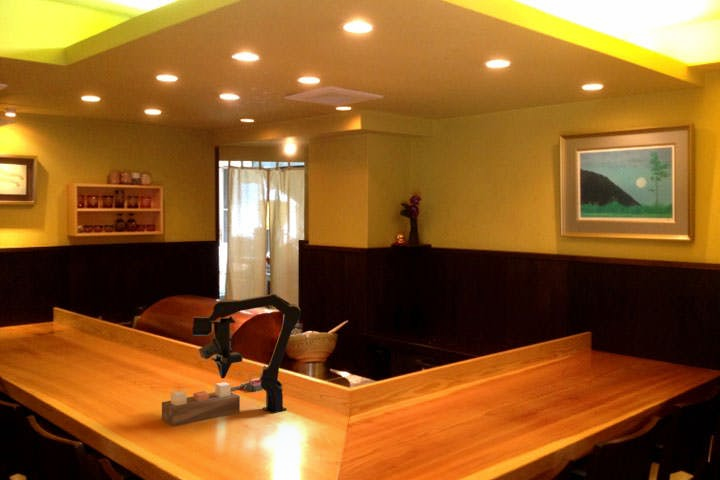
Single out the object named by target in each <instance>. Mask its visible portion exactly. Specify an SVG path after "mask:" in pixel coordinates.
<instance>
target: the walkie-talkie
mask: <svg viewBox="0 0 720 480" xmlns="http://www.w3.org/2000/svg"><path fill="white" fill-rule="evenodd" d="M239 389H243V390H245V391H248V390H249V392H251V393H256V391H257V392H260V390H261V391H263V390H262V389H263V388H262V387H261V380H260V377H256V378H252V379H250V380H249V381H247V382H242V383H241V384H240V385H237V386H233V387H231V391H234V390H239Z"/></svg>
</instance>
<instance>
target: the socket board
mask: <svg viewBox="0 0 720 480" xmlns="http://www.w3.org/2000/svg"><path fill="white" fill-rule="evenodd" d="M240 397H241V396H240V395H238V394H235V393H233V392H231V396H226V397H218V396H216V395H215V391H214V392H209V400H205V401H199V402H198V401H196V400H194V397H193V396H188V397H187V404H184V405H179V406H174V405H172V404H171V400H167V401H162V402H161V420H163V421H164V422H166V423H168V424H169V425H171V426H172V425H173V427H179V426H183V425H187V424H192V423H197V422H201V421H206V420H212V419H216V418H220V417H226V416H230V415H235V414H240V413H241V412H240V411H241V407H240V405H241V404H240V403H241V402H240V401H241V399H240ZM178 425H179V426H178Z"/></svg>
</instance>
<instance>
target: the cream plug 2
mask: <svg viewBox="0 0 720 480" xmlns="http://www.w3.org/2000/svg"><path fill="white" fill-rule="evenodd" d="M231 385H232V384H231V383H228V382H226V381H224V382H219V383H214V388H215V389H214V390H215V391H214V392H215V395H216V396H218V397H226V396H231V393H232V392H231V391H232V390H231V388H232V387H231Z"/></svg>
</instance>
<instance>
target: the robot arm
mask: <svg viewBox="0 0 720 480" xmlns="http://www.w3.org/2000/svg"><path fill="white" fill-rule="evenodd" d="M270 306H272V307H274V308H275V309H276V310H277V311H278V312H280V313H281V314H282V315H283V319H282V324H281V325H282V326H281V329H280V333H279V336H278V338H277V342H276V344H275V347H274V349H273V353H272V356H271V359H270V362H269V364H268V365H267V366H266V365H263V367H262V372H261V374H260V375H259V378H260V380H261V387H262V388H263V389H264V390H263V391H265V392H266V393H265V394H266V396H265V406H264V407H262V410H264V411H267V412H268V413H270V414H274V413H278V412H283V411H287V408H285V407H284V401H283V400H284V399H283V398H284V394H283V391H284V389H283V384H282V382H280V381H279V380H278V377H279V372H280V371H279V370H280V366H281V363H282V360H283V357H284V355H285V351H286V349H287V346H288V343H289V341H290V337H291V334H292V332H293V330H294V329H295V327H296V326H297V324H298V322H299V320H300V319H301V315H302V312H301V309H300V307H299V306H298V305H297V304H296V303H290V302H289V301H287V300H285V299H284V298H283V297H281V296H279V295H278V294H277V293H271V294H266V295H260V296H259V295H258V296H254V297H249V298H244V299H220V300H218V301H216V303H215V304H214V305H213V311H212V313H210V314H209V316H194V317H193V323H192V331H191V332H192V336H193V337H202V336H205V337H206V336H210V335H211V334H212V333H213V331H214V333H213V334H214V337H211V339H210V340H211V342H209V343H208V344H206V345H204V346H202V347H200V348H198V351H199V354H200V357H201V358H203V359H205V360H208V359H210V360H212V361H213V363H215V364H216V367H217V369H218V372H219V376H220V378H221V379H226V376H227V375H228V372H229V369H230V368H231V366H232V364H235V363H241V362H243V361H244V360H243V355H242V353H239V352H236V351H234V349H233V348H231V345H232V344H231V343H232V342H233V341H234V338H233V337H231V324H235V323H236V319H235V318H234V317H233V316H232V315H234V314H236V313H238V312H239V313H240V312H243V311H247V310H254V309H259V308H264V307H270ZM217 319H220V320H217ZM213 324H214V326H213ZM213 329H214V330H213Z"/></svg>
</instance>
